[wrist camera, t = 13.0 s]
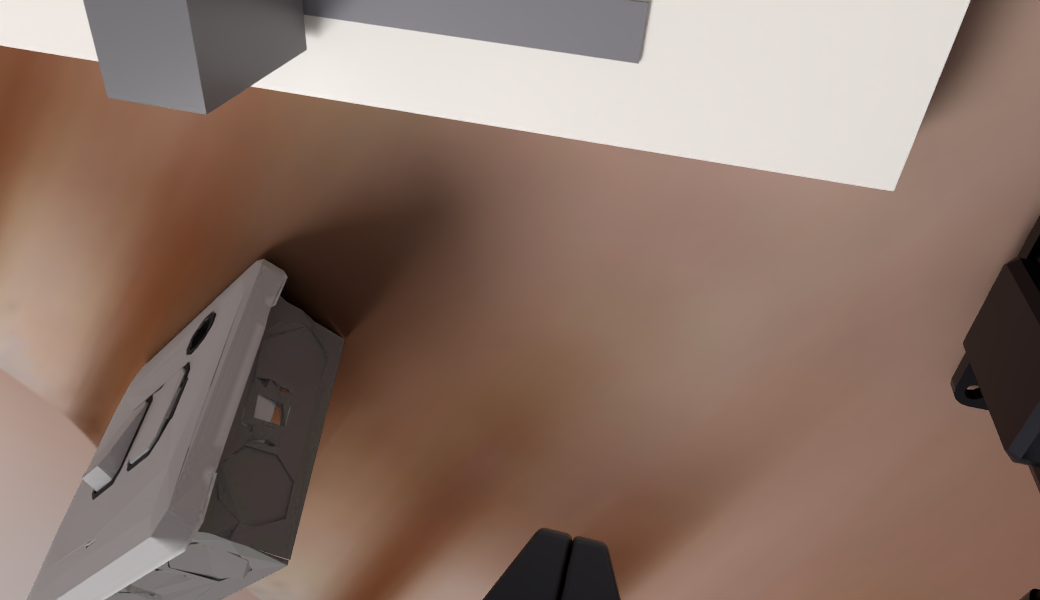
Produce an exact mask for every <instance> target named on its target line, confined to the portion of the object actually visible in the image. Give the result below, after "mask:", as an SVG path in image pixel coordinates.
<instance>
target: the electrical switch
mask: <svg viewBox="0 0 1040 600" xmlns="http://www.w3.org/2000/svg"><path fill="white" fill-rule="evenodd" d="M286 280H287V275H286V273H285V272H284V270H282V269H280V268H278V267H277V266H275V265H273V264H272V263H270V262H268V261H266V260H265V259H261V260H257V261H256V262H255V263H254V264H252V265H251V266H250V267H249V268H248V269H247V270H246V271H245V272H244V273H243V274H242V275H241V276H240V277H238V278H237V279H236V280H235V281H234V282H233V283H232V284H231V285H230V286H229V287H228V288H227V289H226V290H225V291H224V292H223V293H221V294H220V295H219V296H218V297H217V298H216V299H215V300H214V301H213V302H212V303H211V304H210V305H209V306H208V307H207V308H205V309H204V310H203V311H202V312H201V313H200V314H199V315H198V316H197V317H196V318H195V319H194V320H193V321H192V322H191V323H190V324H188V325H187V326H186V327H185V328H184V329H183V330H182V331H181V332H180V333H179V334H178V335H177V336H176V337H175V338H174V339H172V340H171V341H170V342H169V343H168V344H167V345H166V346H165V347H164V348H163V349H162V350H161V351H160V352H159V353H158V354H157V355H155V356H154V357H153V358H152V359H151V360H150V361H149V362H148V363H147V364H146V365H145V366H144V367H143V368H142V369H141V370H140V371H139V372H138V373H137V375H136V376H135V378H134V379H133V381H132V383H131V384H130V386H129V387H128V389H127V391H126V393H125V395H124V397H123V398H122V400H121V402H120V404H119V406H118V408H117V410H116V412H115V414H114V416H113V418H112V420H111V422H110V424H109V426H108V428H107V430H106V432H105V434H104V436H103V438H102V440H101V442H100V444H99V447H98V449H97V451H96V453H95V455H94V457H93V459H92V461H91V463H90V465H89V467H88V469H87V471H86V473H85V474H84V475H83V476H82V479H83V480H82V482H81V484H80V486H79V488H78V490H77V492H76V494H75V496H74V498H73V500H72V502H71V505H70V506H69V508H68V511H67V513H66V515H65V517H64V519H63V521H62V523H61V525H60V527H59V529H58V531H57V534H56V536H55V538H54V540H53V542H52V545H51V547H50V549H49V552H48V554H47V556H46V558H45V561H44V563H43V565H42V567H41V569H40V572H39V574H38V576H37V578H36V581H35V583H34V585H33V587H32V589H31V592H30V594H29V596H28V599H27V600H221V599H223V598H225V597H227V596H229V595H231V594H233V593H235V592H237V591H239V590H241V589H243V588H245V587H246V586H248V585H250V584H252V583H254V582H256V581H258V580H260V579H262V578H264V577H266V576H268V575H270V574H272V573H274V572H276V571H277V570H279V569H281V568H283V567H285V566H287V565H288V560H285V559H282V558H279V557H283V558H286V559H289V560H290V558H291V554H292V550H293V546H294V542H295V538H296V534H297V530H298V526H299V522H300V518H301V514H302V510H303V506H304V502H305V498H306V494H307V490H308V486H309V482H310V478H311V474H312V470H313V466H314V462H315V458H316V454H317V450H318V446H319V442H320V438H321V434H322V430H323V426H324V422H325V418H326V414H327V410H328V406H329V402H330V398H331V394H332V390H333V386H334V381H335V377H336V373H337V369H338V365H339V361H340V357H341V353H342V349H343V345H344V341H345V340H344V339H342V338H341V337H340V336H338V335H336V334H335V333H333V332H331V331H330V330H328V329H326V328H325V327H323V326H321V325H320V324H318V323H316V322H315V321H313V320H312V319H311V318H310V317H309V316H308V315H307V314H306V313H305V312H304V311H303V310H301V309H299V308H297V307H295V306H293V305H292V304H290V303H288V302H286V301H285V300H284V299H283V298H282V297H281V296H280V294H281V291H282V289H283V287H284V284H285V282H286ZM281 387H283V388H284V389H286V390H287V391H288V392H290V394H289V393H285V392H281V391H280V388H281ZM275 405H277V406H278V407H280V408H281V424H280V425H277V424H274V423H270V421H271V418H272V415H273V411H274V408H275ZM285 515H286V516H285ZM283 516H284V517H283ZM281 517H282V518H281ZM256 549H257V550H256ZM259 550H260V551H259ZM262 551H264V552H262ZM265 552H267V553H265ZM268 553H270V554H268ZM271 554H273V555H271ZM274 555H276V556H274ZM277 556H279V557H277Z"/></svg>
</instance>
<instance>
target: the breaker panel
mask: <svg viewBox="0 0 1040 600" xmlns="http://www.w3.org/2000/svg"><path fill="white" fill-rule="evenodd" d="M302 2H303V13H304V24H305V35H306V46H307V50H306V51H304V52H303V53H301V54H300V55H298V56H296V57H295V58H293V59H292V60H290V61H289V62H287V63H286V64H284V65H283V66H281V67H279V68H278V69H276V70H275V71H273V72H272V73H270V74H269V75H267V76H265V77H264V78H262V79H261V80H259V81H258V82H256V83H255V84H253V85H251V86H252V87H258V88H264V89H270V90H276V91H283V92H289V93H295V94H301V95H307V96H313V97H319V98H325V99H332V100H338V101H344V102H350V103H356V104H362V105H368V106H374V107H380V108H387V109H393V110H399V111H405V112H411V113H417V114H423V115H429V116H436V117H442V118H448V119H454V120H460V121H466V122H472V123H478V124H485V125H491V126H497V127H503V128H509V129H515V130H521V131H527V132H533V133H540V134H546V135H552V136H558V137H564V138H570V139H576V140H582V141H589V142H595V143H601V144H607V145H613V146H619V147H625V148H631V149H637V150H644V151H650V152H656V153H662V154H668V155H674V156H680V157H686V158H693V159H699V160H705V161H711V162H717V163H723V164H729V165H735V166H741V167H748V168H754V169H760V170H766V171H772V172H778V173H784V174H790V175H797V176H803V177H809V178H815V179H821V180H827V181H833V182H839V183H846V184H852V185H858V186H864V187H870V188H876V189H882V190H888V191H894V189H895V187H896V184H897V182H898V179H899V177H900V174H901V172H902V169H903V167H904V164H905V162H906V160H907V157H908V155H909V152H910V150H911V147H912V145H913V142H914V140H915V137H916V135H917V132H918V130H919V127H920V125H921V122H922V120H923V117H924V115H925V112H926V110H927V107H928V105H929V102H930V100H931V97H932V95H933V92H934V90H935V87H936V85H937V82H938V80H939V77H940V75H941V73H942V70H943V68H944V65H945V63H946V60H947V58H948V55H949V53H950V50H951V48H952V45H953V43H954V40H955V38H956V35H957V33H958V30H959V28H960V25H961V23H962V20H963V18H964V15H965V13H966V10H967V8H968V5H969V3H970V0H302ZM0 45H1V46H7V47H13V48H19V49H26V50H32V51H38V52H44V53H50V54H56V55H62V56H68V57H75V58H81V59H87V60H93V61H98V57H97V54H96V50H95V46H94V42H93V38H92V34H91V30H90V26H89V22H88V18H87V14H86V10H85V6H84V2H83V0H0Z"/></svg>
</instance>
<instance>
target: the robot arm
mask: <svg viewBox="0 0 1040 600" xmlns="http://www.w3.org/2000/svg"><path fill="white" fill-rule="evenodd" d="M963 346H964V348H965V351H966V353H965V355H964V357H963V359H962V361H961V362H960V364H959V366H958V368H957V370H956V372H955V374H954V375H953V377H952V380H951V387H952V390H953V393H954V396H955V399H956V400H957V401H958V402H959V403H961V404H963V405H966V406H970V407H975V408H980V409H985V410H989V412H990V414H991V417H992V419H993V422H994V425H995V427H996V430H997V432H998V435H999V437H1000V440H1001V442H1002V445H1003V447H1004V450H1005V451H1006V453H1007V454H1008V456H1009V457H1010V459H1011V460H1012V461H1013V462H1015V463H1020V464H1025V465H1028V466H1029V468H1030V471H1031V473H1032V476H1033V478H1034V480H1035V483H1036V485H1037V487H1038V490H1039V492H1040V216H1039V218H1038V220H1037V221H1036V223H1035V225H1034V227H1033V229H1032V231H1031V233H1030V234H1029V236H1028V238H1027V240H1026V242H1025V244H1024V245H1023V247H1022V249H1021V251H1020V253H1019V255H1018V257H1016V258H1014V259H1012V260H1011V261H1009V262H1008V263H1006V264H1005V265H1004V266H1003V268H1002V270H1001V272H1000V273H999V275H998V277H997V279H996V281H995V283H994V285H993V287H992V289H991V290H990V292H989V294H988V296H987V298H986V300H985V302H984V304H983V305H982V307H981V309H980V311H979V313H978V315H977V317H976V319H975V321H974V322H973V324H972V326H971V328H970V330H969V332H968V334H967V336H966V338H965V339H964V342H963ZM972 385H979V386H980V387H979V388H976V389H974V390H968V389H967V388H968V387H969V386H972ZM483 600H621V599H620V595H619V591H618V586H617V582H616V578H615V574H614V570H613V565H612V561H611V557H610V553H609V549H608V547H607V545H606V544H605V543H604V542H602V541H598V540H594V539H590V538H585V537H581V536H577V537H575V538H574V539H573V541H572V537H571V536H570V535H569V534H568V533H564V532H560V531H556V530H552V529H548V528H541V529H539V530H538V531H537V532H536V533H535V534H534V535H533V537H532V538H531V539H530V540H529V542H528V543H527V544H526V545H525V547H524V548H523V549H522V550H521V552H520V553H519V554H518V556H517V557H516V558H515V559H514V561H513V562H512V563H511V564H510V566H509V567H508V568H507V570H506V571H505V572H504V573H503V575H502V576H501V577H500V578H499V580H498V581H497V582H496V583H495V585H494V586H493V587H492V589H491V590H490V591H489V592H488V594H487V595H486V596H485V597H484V599H483ZM1020 600H1040V590H1039V589H1032V590H1030V591H1029V592H1028V593H1027V594H1026V595H1024V596H1023V597H1022V598H1021V599H1020Z"/></svg>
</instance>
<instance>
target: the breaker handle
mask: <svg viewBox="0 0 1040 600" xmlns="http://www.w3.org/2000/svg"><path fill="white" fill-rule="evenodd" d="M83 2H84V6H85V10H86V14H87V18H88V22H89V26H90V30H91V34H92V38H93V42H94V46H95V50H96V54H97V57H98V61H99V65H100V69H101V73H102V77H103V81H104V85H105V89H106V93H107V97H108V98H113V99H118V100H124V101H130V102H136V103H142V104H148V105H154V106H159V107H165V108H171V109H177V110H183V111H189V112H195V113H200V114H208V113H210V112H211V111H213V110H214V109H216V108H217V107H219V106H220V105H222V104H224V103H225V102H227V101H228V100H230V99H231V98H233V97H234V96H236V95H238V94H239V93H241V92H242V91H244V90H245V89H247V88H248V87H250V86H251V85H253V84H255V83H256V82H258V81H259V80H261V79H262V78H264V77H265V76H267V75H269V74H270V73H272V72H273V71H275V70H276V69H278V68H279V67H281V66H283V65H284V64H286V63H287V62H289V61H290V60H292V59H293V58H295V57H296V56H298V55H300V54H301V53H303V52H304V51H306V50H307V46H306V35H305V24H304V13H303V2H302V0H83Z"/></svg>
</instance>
